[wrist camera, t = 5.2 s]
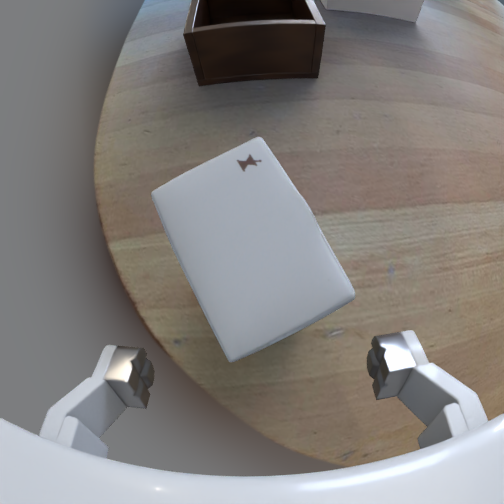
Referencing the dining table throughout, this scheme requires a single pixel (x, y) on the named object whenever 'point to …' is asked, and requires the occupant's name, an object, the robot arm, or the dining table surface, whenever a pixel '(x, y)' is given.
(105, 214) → the dining table surface
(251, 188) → the cosmetic box
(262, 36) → the holder
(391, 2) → the hammer relief block
